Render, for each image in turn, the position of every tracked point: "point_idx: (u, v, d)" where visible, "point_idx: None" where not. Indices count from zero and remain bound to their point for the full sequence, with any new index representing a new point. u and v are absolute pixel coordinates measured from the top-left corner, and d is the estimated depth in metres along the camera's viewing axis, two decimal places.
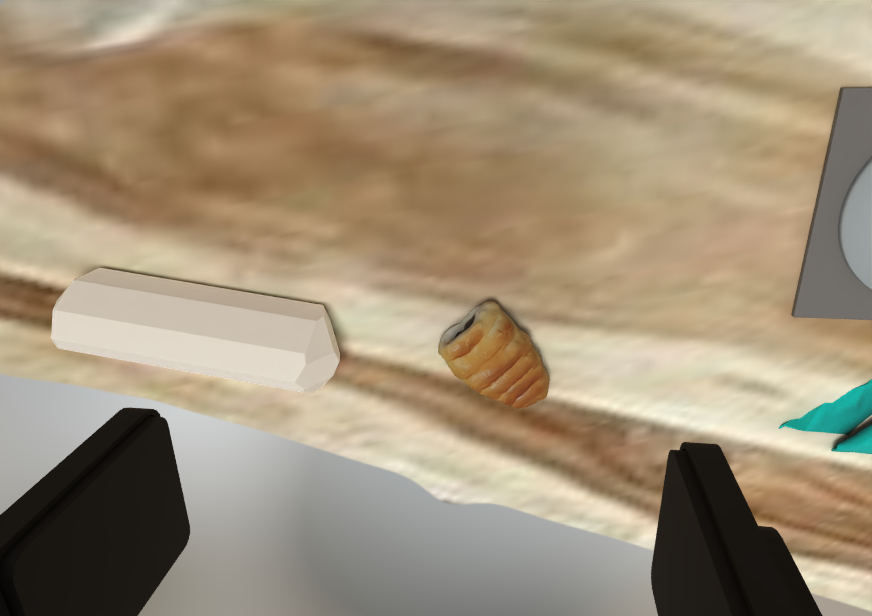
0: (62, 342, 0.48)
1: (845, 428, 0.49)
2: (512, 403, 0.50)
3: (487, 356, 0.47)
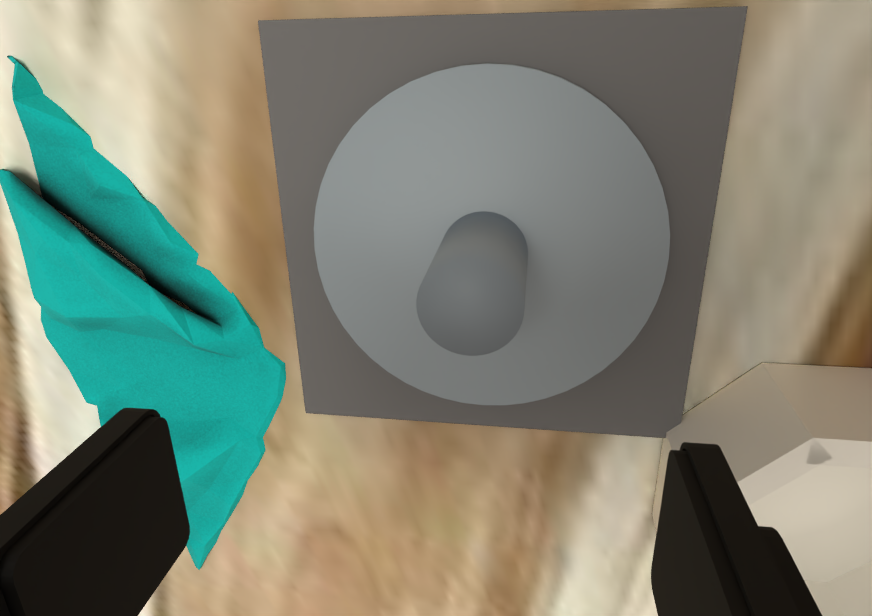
0: None
1: (50, 182, 0.26)
2: None
3: None
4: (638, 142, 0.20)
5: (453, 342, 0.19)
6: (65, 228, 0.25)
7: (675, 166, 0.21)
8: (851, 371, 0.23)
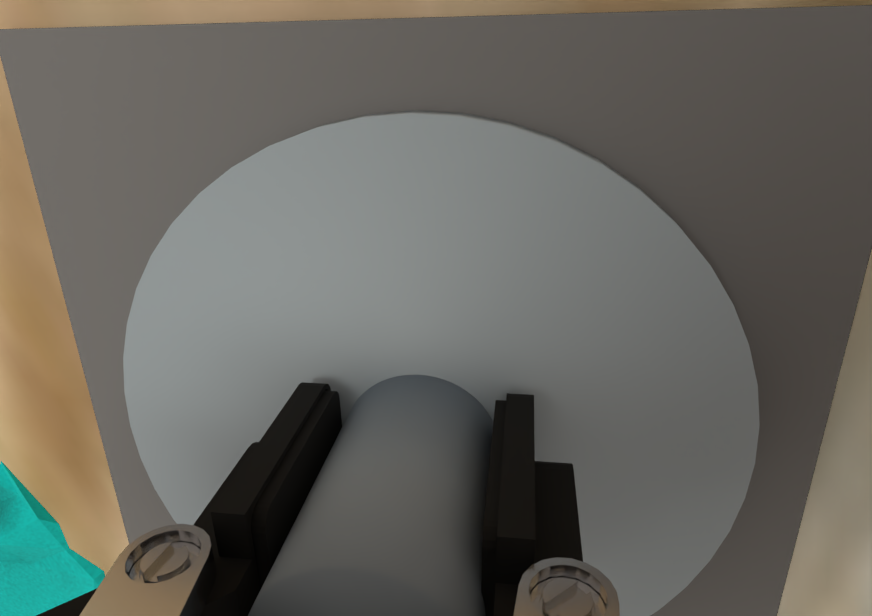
0: None
1: None
2: None
3: None
4: (705, 263, 0.11)
5: None
6: None
7: (769, 300, 0.11)
8: None
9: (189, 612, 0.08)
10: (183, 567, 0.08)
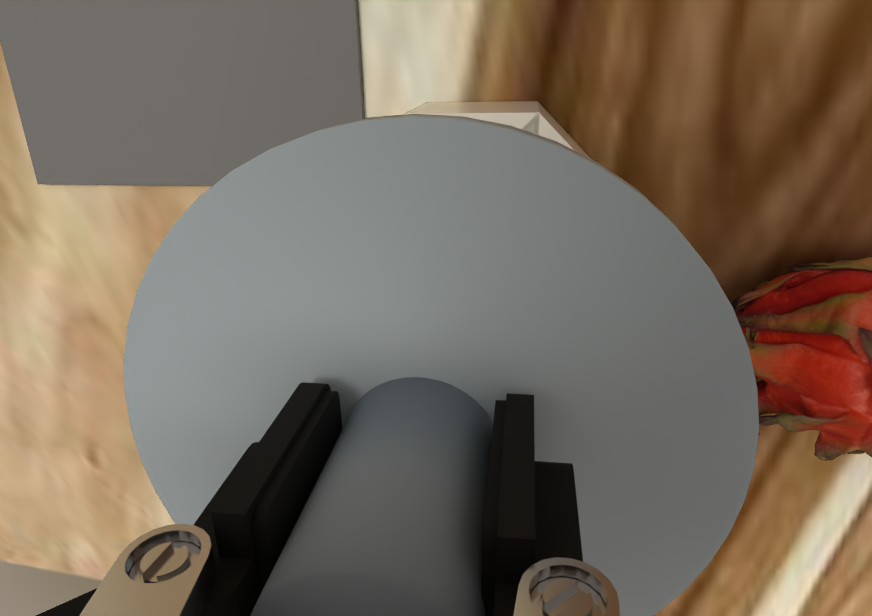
0: None
1: None
2: None
3: None
4: (705, 266, 0.11)
5: None
6: None
7: None
8: (500, 102, 0.25)
9: (189, 612, 0.08)
10: (183, 567, 0.08)
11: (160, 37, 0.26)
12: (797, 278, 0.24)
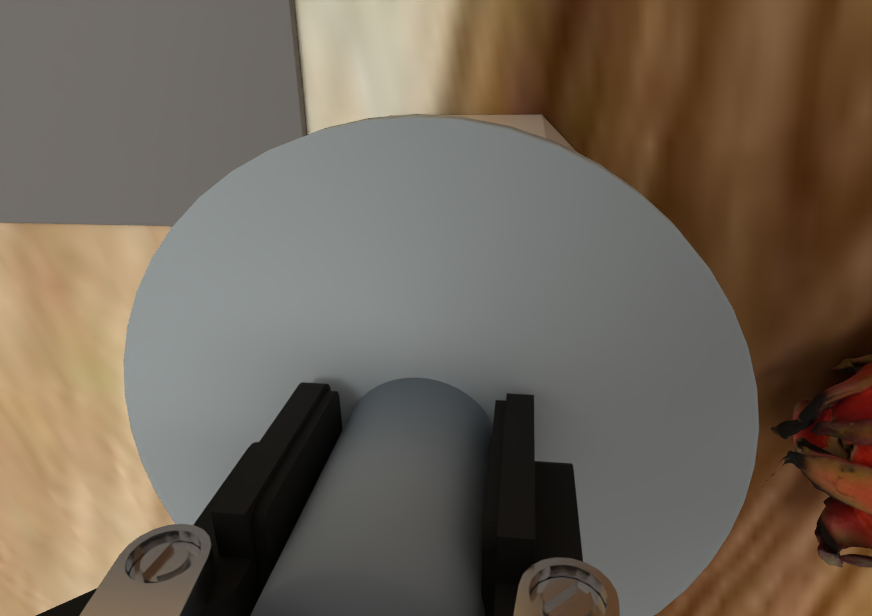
0: None
1: None
2: None
3: None
4: (705, 267, 0.11)
5: None
6: None
7: None
8: (490, 115, 0.18)
9: (189, 612, 0.08)
10: (183, 567, 0.08)
11: (26, 26, 0.19)
12: None
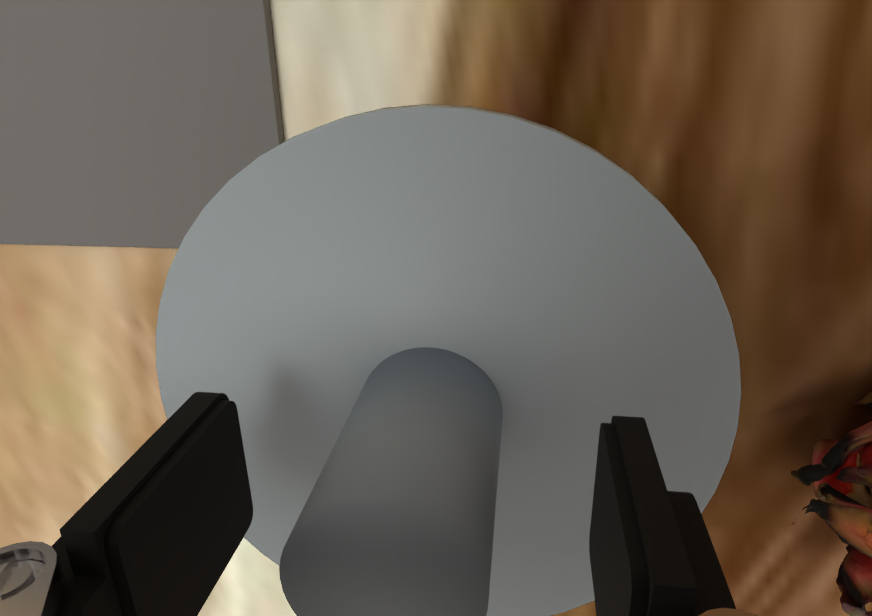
0: None
1: None
2: None
3: None
4: (690, 243, 0.12)
5: None
6: None
7: None
8: None
9: None
10: (29, 581, 0.08)
11: None
12: None
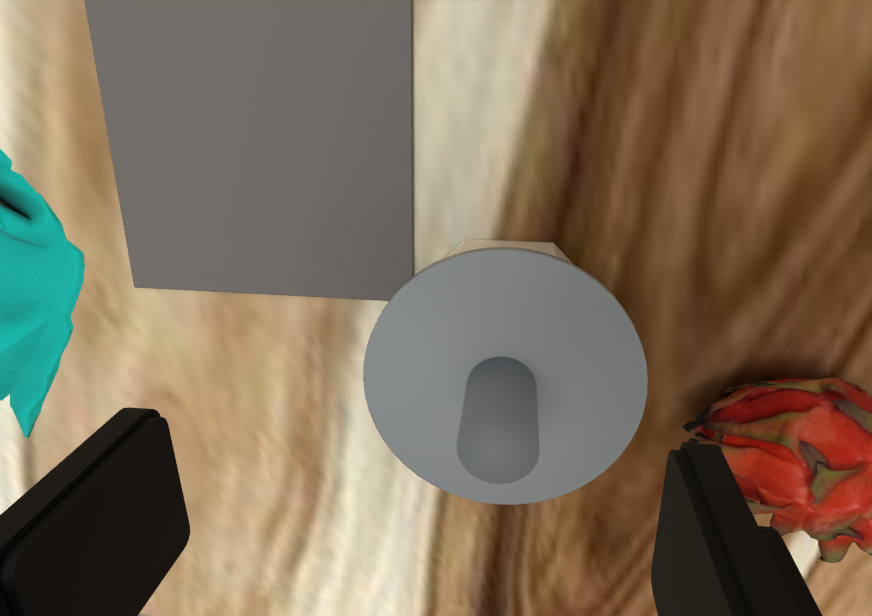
0: None
1: None
2: None
3: None
4: (623, 312, 0.27)
5: (483, 473, 0.24)
6: None
7: (379, 83, 0.30)
8: (524, 242, 0.32)
9: None
10: None
11: (250, 181, 0.32)
12: (756, 392, 0.30)
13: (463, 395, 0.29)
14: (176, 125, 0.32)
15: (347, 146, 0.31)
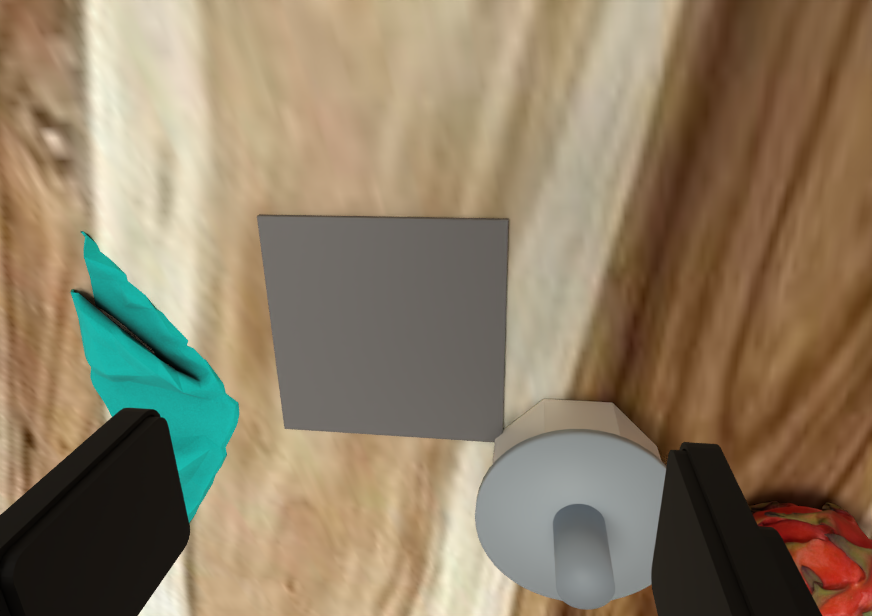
0: None
1: (100, 298, 0.44)
2: None
3: None
4: None
5: (574, 602, 0.35)
6: (109, 325, 0.44)
7: (482, 295, 0.40)
8: (590, 403, 0.42)
9: None
10: None
11: (379, 358, 0.42)
12: (769, 519, 0.40)
13: (550, 528, 0.39)
14: (324, 319, 0.42)
15: (455, 336, 0.41)
